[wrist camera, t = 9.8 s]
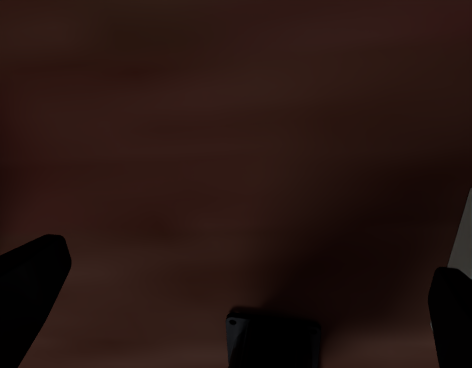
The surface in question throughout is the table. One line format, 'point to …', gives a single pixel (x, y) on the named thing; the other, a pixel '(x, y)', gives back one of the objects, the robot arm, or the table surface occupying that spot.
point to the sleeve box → (463, 242)
